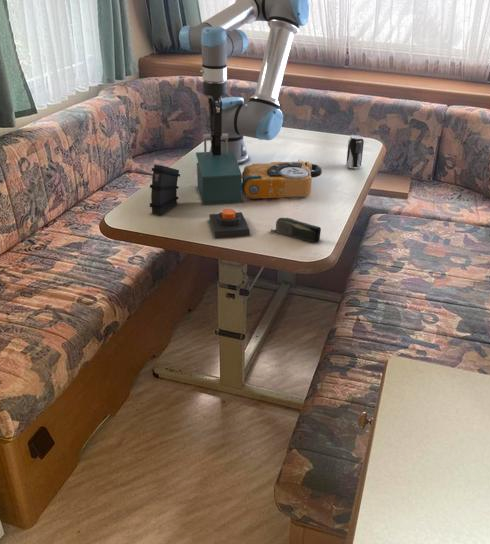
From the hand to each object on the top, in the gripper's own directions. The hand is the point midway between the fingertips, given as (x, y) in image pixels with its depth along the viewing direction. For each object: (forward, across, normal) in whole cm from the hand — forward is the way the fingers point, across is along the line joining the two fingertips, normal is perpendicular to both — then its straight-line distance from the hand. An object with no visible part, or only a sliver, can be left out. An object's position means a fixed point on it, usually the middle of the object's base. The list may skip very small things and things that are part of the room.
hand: (216, 153), depth 192 cm
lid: (+2, +5, 0) cm, 5 cm away
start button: (+9, +31, -1) cm, 32 cm away
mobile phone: (+12, +40, +17) cm, 45 cm away
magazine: (+13, +13, -18) cm, 26 cm away
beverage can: (+13, -14, +55) cm, 58 cm away
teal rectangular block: (+13, +5, 0) cm, 14 cm away
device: (+13, +3, +22) cm, 26 cm away
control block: (+12, +31, -1) cm, 33 cm away
